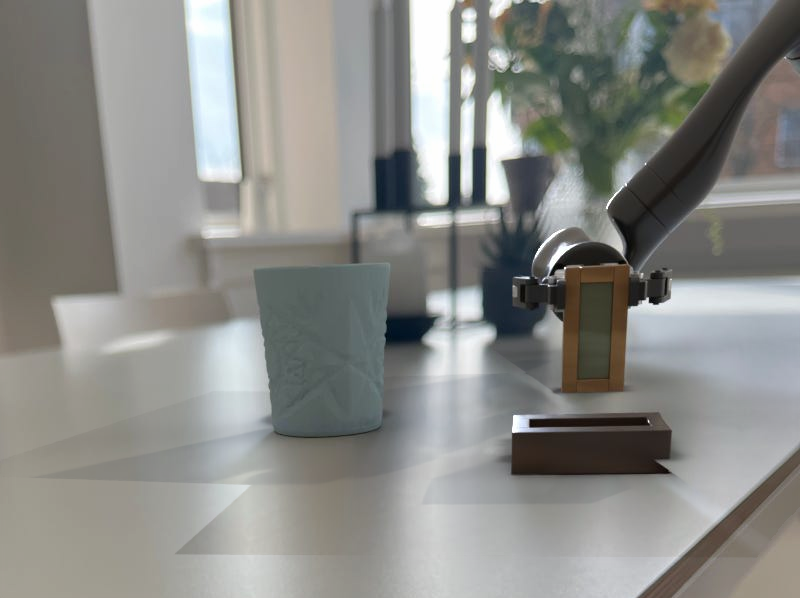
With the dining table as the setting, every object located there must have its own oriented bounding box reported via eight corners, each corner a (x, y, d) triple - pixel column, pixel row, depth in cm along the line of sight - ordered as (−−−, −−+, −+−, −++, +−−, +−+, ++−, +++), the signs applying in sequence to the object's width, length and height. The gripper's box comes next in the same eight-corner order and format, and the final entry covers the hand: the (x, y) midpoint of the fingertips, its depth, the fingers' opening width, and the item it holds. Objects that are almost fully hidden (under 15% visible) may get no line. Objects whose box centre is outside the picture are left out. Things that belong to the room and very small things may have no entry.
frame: (560, 390, 88) (564, 267, 85) (621, 389, 87) (627, 263, 84) (561, 395, 86) (565, 268, 82) (623, 393, 85) (630, 264, 82)
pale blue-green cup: (243, 437, 78) (230, 269, 74) (293, 415, 87) (284, 264, 83) (371, 439, 75) (365, 263, 70) (409, 416, 83) (406, 258, 79)
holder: (513, 453, 67) (513, 414, 66) (656, 451, 66) (659, 412, 65) (511, 474, 61) (511, 432, 61) (669, 473, 60) (672, 429, 59)
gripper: (663, 322, 97) (689, 339, 81) (508, 328, 100) (504, 346, 84) (669, 236, 94) (696, 237, 79) (509, 245, 97) (505, 248, 81)
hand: (597, 293), depth 81 cm, fingers closed on frame, 5 cm apart
